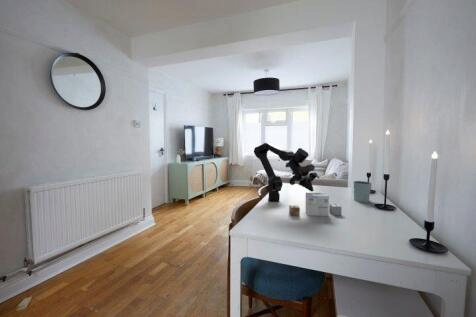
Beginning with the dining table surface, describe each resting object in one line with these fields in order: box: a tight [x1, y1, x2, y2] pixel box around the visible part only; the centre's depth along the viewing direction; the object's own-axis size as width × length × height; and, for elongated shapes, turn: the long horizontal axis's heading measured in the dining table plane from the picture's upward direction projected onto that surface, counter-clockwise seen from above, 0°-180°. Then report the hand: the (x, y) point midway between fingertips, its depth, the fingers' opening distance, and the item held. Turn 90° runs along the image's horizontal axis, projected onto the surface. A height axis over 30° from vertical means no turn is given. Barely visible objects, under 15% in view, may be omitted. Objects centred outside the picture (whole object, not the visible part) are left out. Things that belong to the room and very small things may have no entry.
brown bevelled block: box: [288, 204, 301, 217], centre depth 113 cm, size 4×4×5 cm
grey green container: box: [353, 180, 373, 203], centre depth 139 cm, size 10×10×12 cm
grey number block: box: [329, 203, 342, 216], centre depth 114 cm, size 4×4×5 cm
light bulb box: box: [305, 192, 330, 217], centre depth 114 cm, size 11×7×11 cm, turn 84°
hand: (312, 191), depth 115 cm, fingers closed
